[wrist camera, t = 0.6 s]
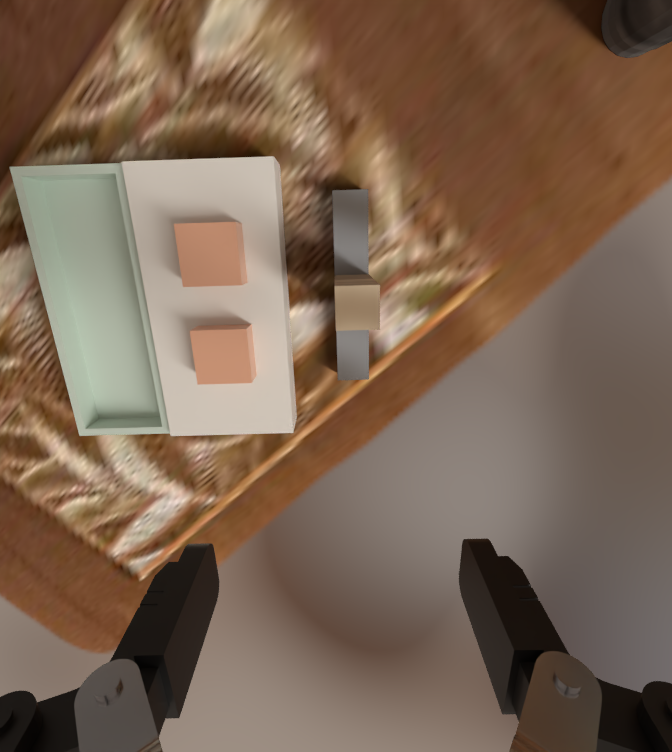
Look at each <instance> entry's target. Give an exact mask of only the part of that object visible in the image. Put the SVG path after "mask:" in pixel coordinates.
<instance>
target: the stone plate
mask: <svg viewBox="0 0 672 752" xmlns="http://www.w3.org/2000/svg"><path fill="white" fill-rule="evenodd" d="M121 162H122V168H123V173H124V179H125V184H126V190H127V195H128V201H129V207H130V212H131V218H132V223H133V229H134V234H135V240H136V245H137V251H138V257H139V262H140V268H141V273H142V279H143V284H144V290H145V295H146V301H147V307H148V312H149V318H150V323H151V329H152V334H153V340H154V346H155V351H156V357H157V362H158V368H159V373H160V379H161V384H162V390H163V396H164V401H165V407H166V412H167V418H168V423H169V429H170V434H171V436H190V435H228V434H265V433H293V431H294V427H295V423H296V418H297V415H296V400H295V385H294V370H293V355H292V340H291V325H290V310H289V295H288V280H287V265H286V250H285V235H284V220H283V205H282V190H281V175H280V165H279V163H278V162H277V160H276V159H275V158H274V156H270V157H240V158H210V159H180V160H150V161H121ZM212 222H239V223H242V230H243V240H244V250H245V260H246V270H247V281H248V283H246V284H244V285H235V286H202V287H183V284H182V277H181V270H180V264H179V257H178V250H177V243H176V237H175V230H174V224H181V223H212ZM240 324H252V332H253V342H254V352H255V362H256V372H257V376H256V377H255V379H254V381H253V382H252V383H236V384H200V385H198V384H197V377H196V371H195V364H194V357H193V351H192V344H191V337H190V330H192V329H193V328H195V327H197V326H206V325H240Z"/></svg>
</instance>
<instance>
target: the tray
mask: <svg viewBox="0 0 672 752" xmlns="http://www.w3.org/2000/svg"><path fill="white" fill-rule="evenodd" d="M10 171H11V175H12V179H13V182H14V186H15V190H16V194H17V198H18V202H19V205H20V209H21V213H22V217H23V221H24V225H25V228H26V232H27V236H28V240H29V244H30V248H31V251H32V255H33V259H34V263H35V267H36V270H37V274H38V278H39V282H40V286H41V290H42V293H43V297H44V301H45V305H46V309H47V313H48V316H49V320H50V324H51V328H52V332H53V336H54V339H55V343H56V347H57V351H58V355H59V359H60V362H61V366H62V370H63V374H64V378H65V382H66V385H67V389H68V393H69V397H70V401H71V405H72V408H73V412H74V416H75V420H76V424H77V428H78V431H79V435H80V436H87V435H125V434H163V433H170V429H169V423H168V418H167V412H166V407H165V401H164V396H163V390H162V384H161V379H160V373H159V368H158V362H157V357H156V351H155V346H154V340H153V334H152V329H151V323H150V318H149V312H148V307H147V301H146V295H145V290H144V284H143V279H142V273H141V268H140V262H139V257H138V251H137V245H136V240H135V234H134V229H133V223H132V218H131V212H130V207H129V201H128V195H127V190H126V184H125V179H124V173H123V168H122V163H109V164H79V165H49V166H19V167H10Z"/></svg>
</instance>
